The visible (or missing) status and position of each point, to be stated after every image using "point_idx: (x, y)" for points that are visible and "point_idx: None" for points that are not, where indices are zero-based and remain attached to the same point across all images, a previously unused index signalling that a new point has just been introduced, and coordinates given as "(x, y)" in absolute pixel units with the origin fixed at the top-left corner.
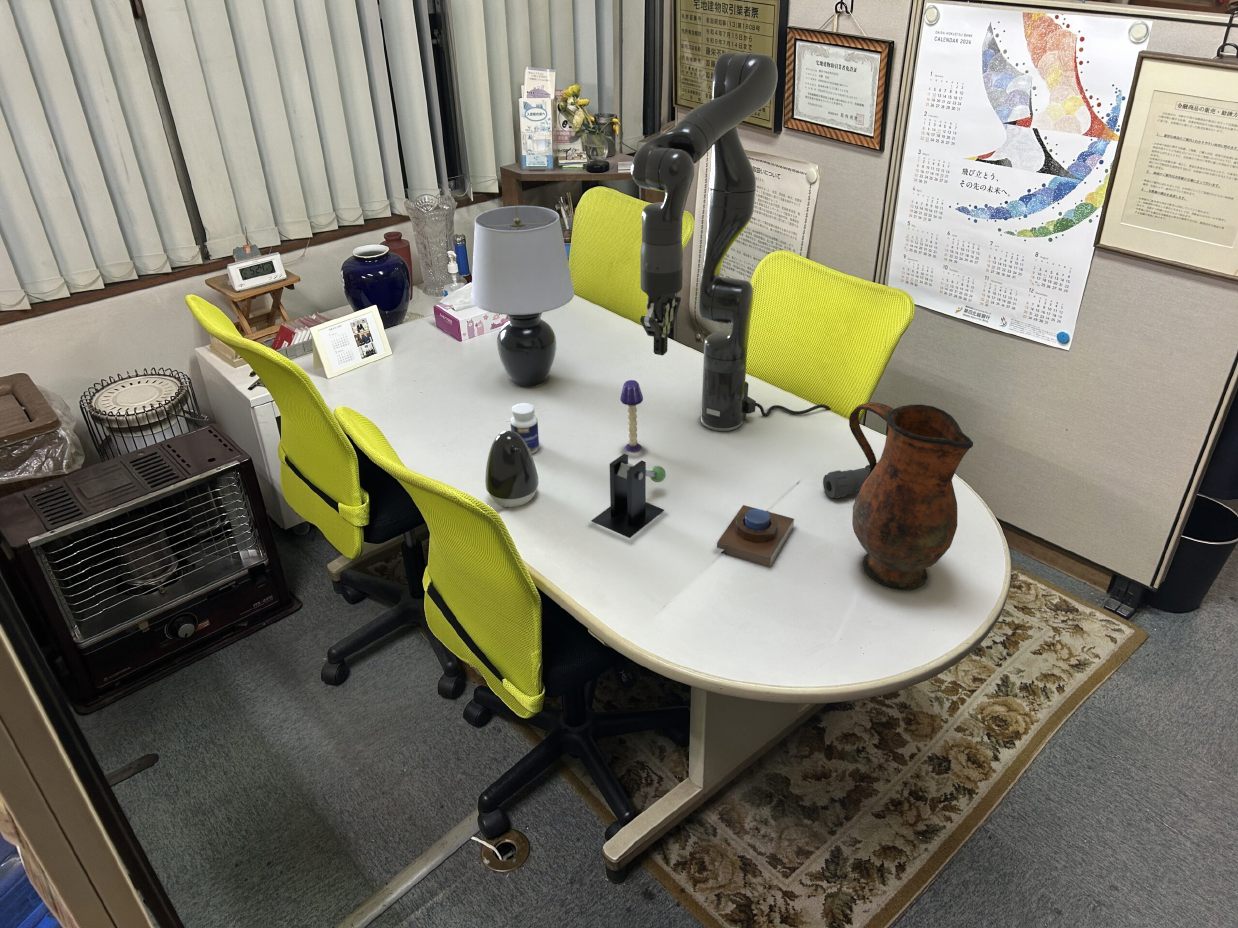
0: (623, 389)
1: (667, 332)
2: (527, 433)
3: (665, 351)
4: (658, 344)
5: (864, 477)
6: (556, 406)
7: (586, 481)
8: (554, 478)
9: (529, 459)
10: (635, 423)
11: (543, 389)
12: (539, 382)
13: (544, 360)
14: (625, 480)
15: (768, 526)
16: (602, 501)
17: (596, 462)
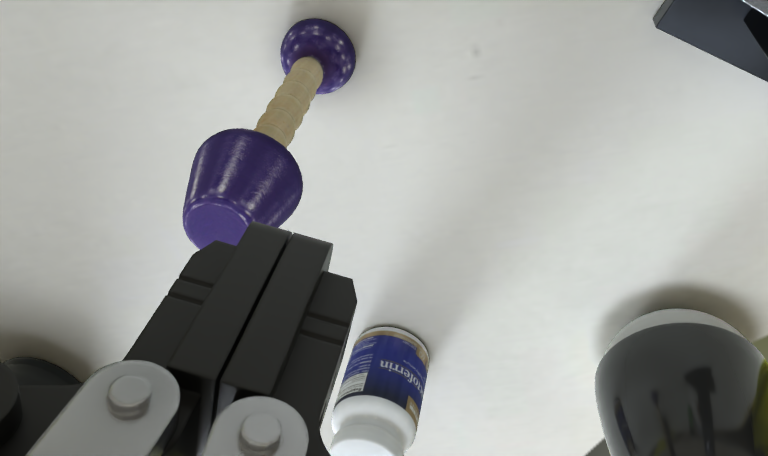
0: None
1: (167, 403)
2: (413, 397)
3: (291, 246)
4: (332, 382)
5: None
6: (142, 316)
7: (544, 174)
8: (538, 263)
9: (721, 423)
10: (291, 103)
11: (74, 356)
12: (56, 374)
13: None
14: None
15: None
16: (672, 102)
17: (418, 163)
